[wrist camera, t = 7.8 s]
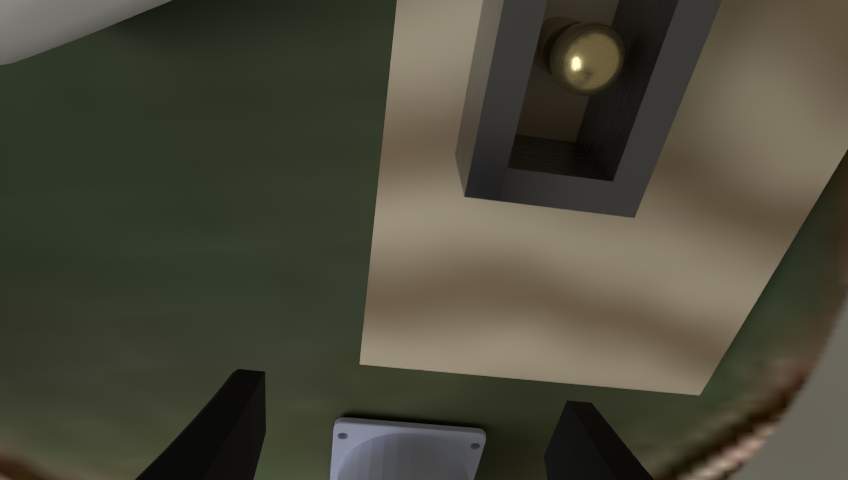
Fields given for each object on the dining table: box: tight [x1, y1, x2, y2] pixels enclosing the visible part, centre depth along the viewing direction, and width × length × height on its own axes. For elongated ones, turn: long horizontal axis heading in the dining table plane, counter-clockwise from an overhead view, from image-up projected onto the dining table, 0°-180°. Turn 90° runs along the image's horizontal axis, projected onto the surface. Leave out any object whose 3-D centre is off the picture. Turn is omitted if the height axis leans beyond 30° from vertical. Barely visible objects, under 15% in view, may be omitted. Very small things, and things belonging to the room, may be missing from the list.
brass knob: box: [533, 16, 625, 97], centre depth 13 cm, size 2×2×4 cm
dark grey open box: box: [455, 0, 722, 218], centre depth 13 cm, size 8×5×4 cm, turn 172°
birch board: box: [360, 0, 848, 395], centre depth 17 cm, size 20×16×2 cm
